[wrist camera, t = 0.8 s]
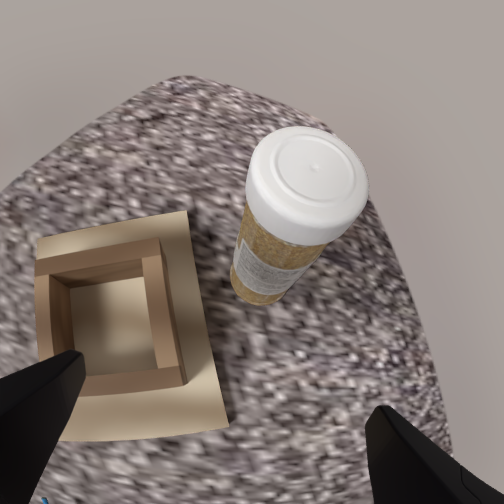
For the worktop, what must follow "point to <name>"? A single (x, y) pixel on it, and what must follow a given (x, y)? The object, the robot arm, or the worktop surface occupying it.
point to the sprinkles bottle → (294, 209)
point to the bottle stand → (129, 329)
